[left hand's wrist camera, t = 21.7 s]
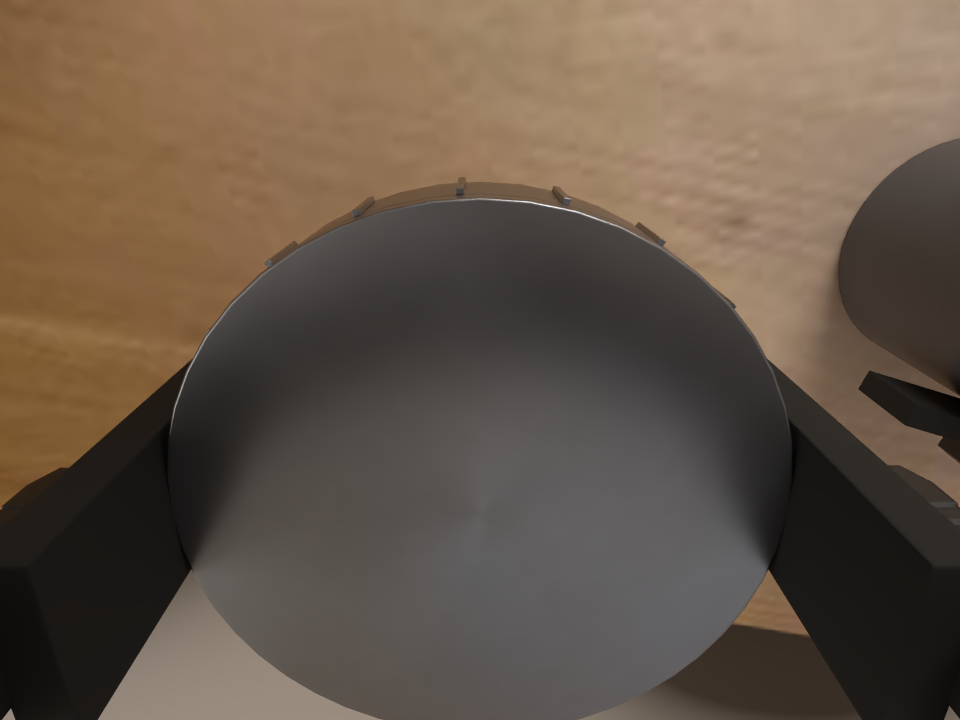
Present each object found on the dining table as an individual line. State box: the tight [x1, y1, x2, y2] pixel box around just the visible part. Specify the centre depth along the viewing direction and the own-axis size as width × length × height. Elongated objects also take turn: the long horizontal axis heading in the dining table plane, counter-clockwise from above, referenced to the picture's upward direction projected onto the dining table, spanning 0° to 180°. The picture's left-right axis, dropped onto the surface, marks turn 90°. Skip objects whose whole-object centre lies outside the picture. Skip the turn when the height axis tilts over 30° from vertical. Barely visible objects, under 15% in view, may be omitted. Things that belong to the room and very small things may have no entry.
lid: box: [167, 177, 793, 720], centre depth 11 cm, size 10×10×2 cm
